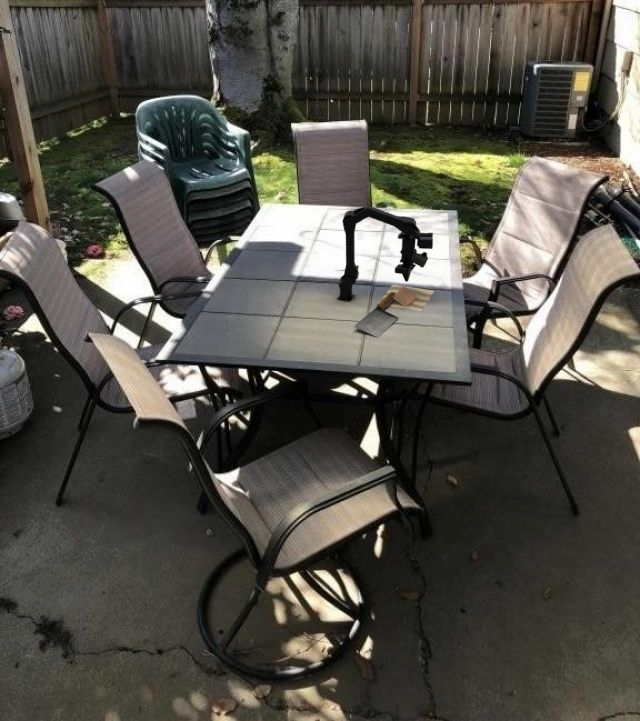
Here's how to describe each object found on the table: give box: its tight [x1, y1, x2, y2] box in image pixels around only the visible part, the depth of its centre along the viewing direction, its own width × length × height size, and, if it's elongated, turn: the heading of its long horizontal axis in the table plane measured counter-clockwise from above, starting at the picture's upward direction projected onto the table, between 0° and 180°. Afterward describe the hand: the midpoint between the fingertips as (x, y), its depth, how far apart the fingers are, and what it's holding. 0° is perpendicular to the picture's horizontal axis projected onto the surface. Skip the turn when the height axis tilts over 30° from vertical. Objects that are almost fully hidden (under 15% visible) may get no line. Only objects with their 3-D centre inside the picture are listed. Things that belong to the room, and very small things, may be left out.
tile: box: [393, 286, 417, 307], centre depth 289 cm, size 2×8×10 cm
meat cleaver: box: [354, 292, 399, 338], centre depth 278 cm, size 34×11×4 cm, turn 148°
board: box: [378, 284, 435, 312], centre depth 294 cm, size 22×20×1 cm
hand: (406, 281), depth 289 cm, fingers closed
